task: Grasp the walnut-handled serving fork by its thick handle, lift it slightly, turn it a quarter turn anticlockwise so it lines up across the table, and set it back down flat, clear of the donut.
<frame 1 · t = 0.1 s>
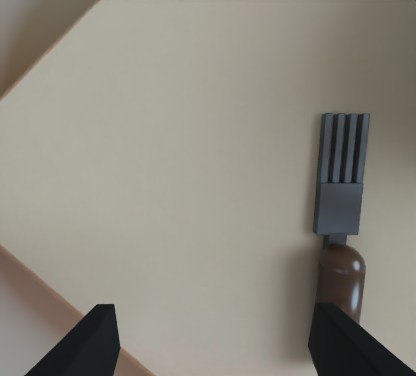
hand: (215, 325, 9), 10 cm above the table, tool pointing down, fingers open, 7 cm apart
fork: (336, 194, 18), on the table
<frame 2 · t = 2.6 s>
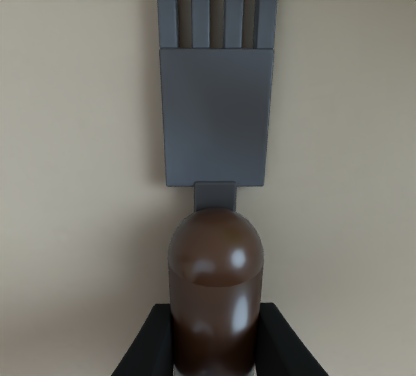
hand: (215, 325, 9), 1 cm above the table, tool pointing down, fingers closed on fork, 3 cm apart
fork: (215, 89, 7), on the table, touching gripper
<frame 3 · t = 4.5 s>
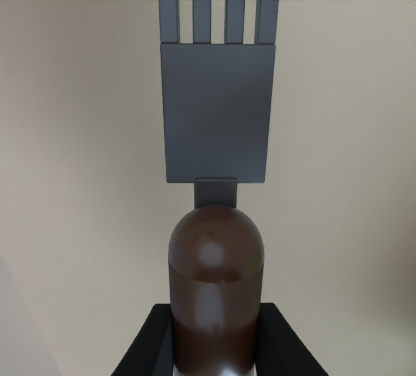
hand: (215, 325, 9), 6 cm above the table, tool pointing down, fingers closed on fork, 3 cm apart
fork: (216, 85, 7), point 5 cm above the table, touching gripper
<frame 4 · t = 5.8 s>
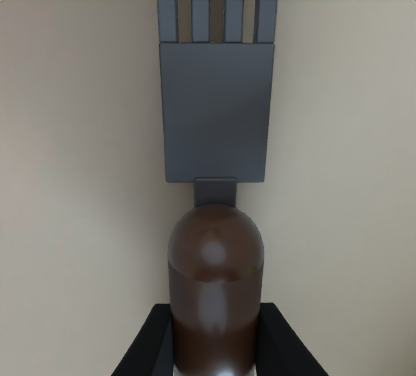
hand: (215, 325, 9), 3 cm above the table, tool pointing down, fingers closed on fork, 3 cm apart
fork: (215, 84, 7), point 1 cm above the table, touching gripper
when the fingers open (1 cm above the table, at t = 6.6 s): fork stays where it is, on the table.
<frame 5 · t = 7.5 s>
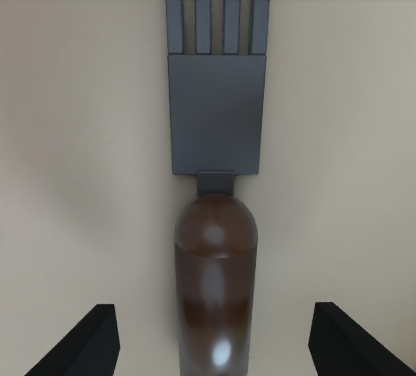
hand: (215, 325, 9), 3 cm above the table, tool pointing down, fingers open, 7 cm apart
fork: (215, 89, 9), on the table
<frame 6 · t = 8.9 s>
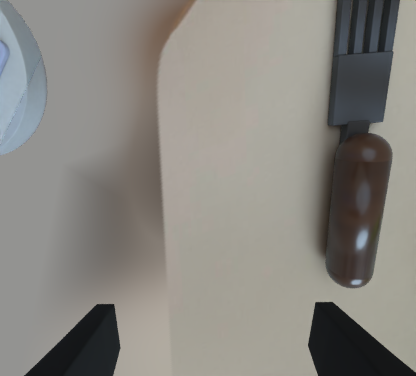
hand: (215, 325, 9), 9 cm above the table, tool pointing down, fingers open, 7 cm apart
fork: (357, 73, 15), on the table
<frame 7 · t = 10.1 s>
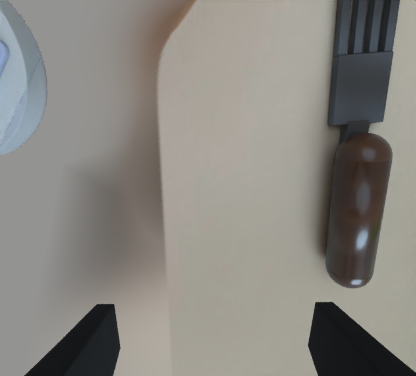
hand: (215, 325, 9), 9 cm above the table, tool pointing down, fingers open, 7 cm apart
fork: (357, 73, 15), on the table
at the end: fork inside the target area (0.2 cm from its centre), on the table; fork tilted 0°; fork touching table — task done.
